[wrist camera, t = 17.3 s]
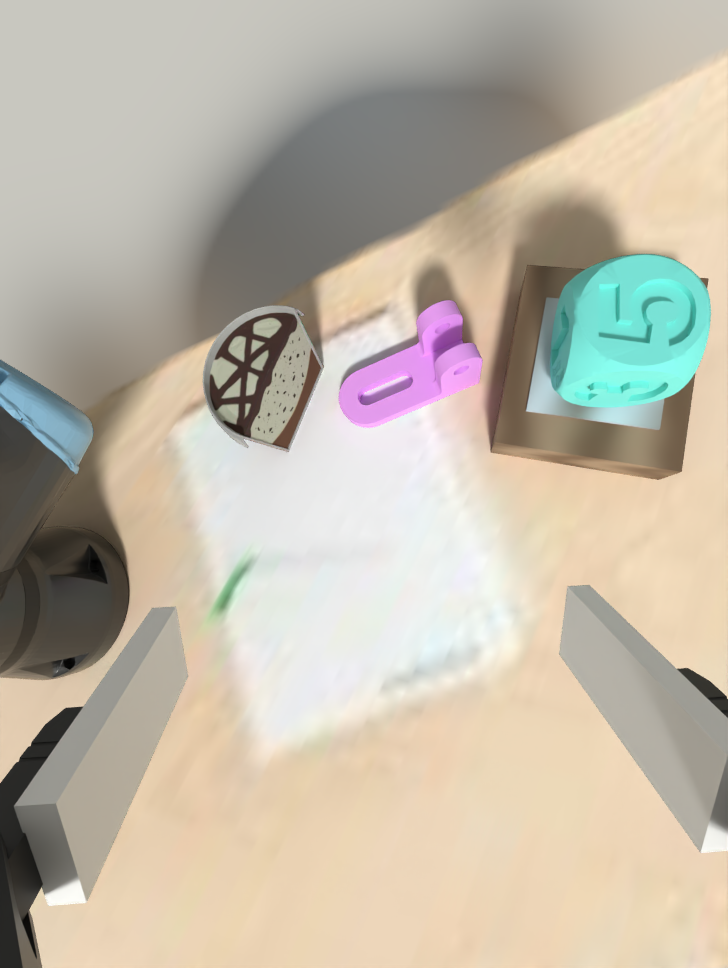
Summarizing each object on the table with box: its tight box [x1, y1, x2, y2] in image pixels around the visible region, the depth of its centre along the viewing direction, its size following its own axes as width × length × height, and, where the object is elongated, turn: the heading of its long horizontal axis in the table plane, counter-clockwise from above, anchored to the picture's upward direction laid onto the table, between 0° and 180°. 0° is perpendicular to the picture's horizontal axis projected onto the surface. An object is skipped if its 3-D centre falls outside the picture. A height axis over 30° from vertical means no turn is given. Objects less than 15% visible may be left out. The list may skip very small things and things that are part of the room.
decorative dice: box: [550, 254, 711, 408], centre depth 33 cm, size 8×8×8 cm
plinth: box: [491, 265, 708, 480], centre depth 39 cm, size 14×16×4 cm
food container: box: [203, 305, 324, 452], centre depth 42 cm, size 12×6×10 cm, turn 158°
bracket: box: [339, 300, 482, 428], centre depth 41 cm, size 13×6×7 cm, turn 111°
